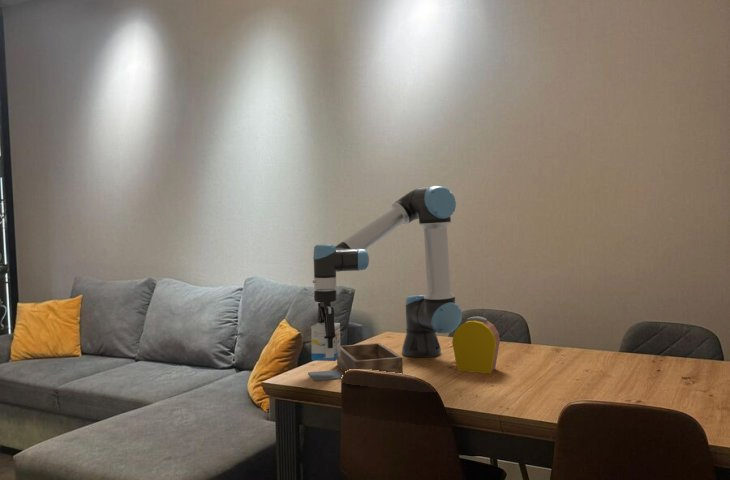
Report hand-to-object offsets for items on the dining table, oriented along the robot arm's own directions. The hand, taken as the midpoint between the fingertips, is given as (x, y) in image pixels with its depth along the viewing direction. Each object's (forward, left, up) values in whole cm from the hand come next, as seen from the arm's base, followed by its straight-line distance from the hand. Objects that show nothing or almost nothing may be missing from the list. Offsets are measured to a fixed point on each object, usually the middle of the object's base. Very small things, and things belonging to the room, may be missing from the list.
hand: (326, 353), depth 220 cm
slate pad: (0, 0, -8) cm, 8 cm away
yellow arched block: (-52, +9, -8) cm, 53 cm away
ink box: (0, 0, -2) cm, 2 cm away
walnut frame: (-15, -1, -8) cm, 17 cm away
